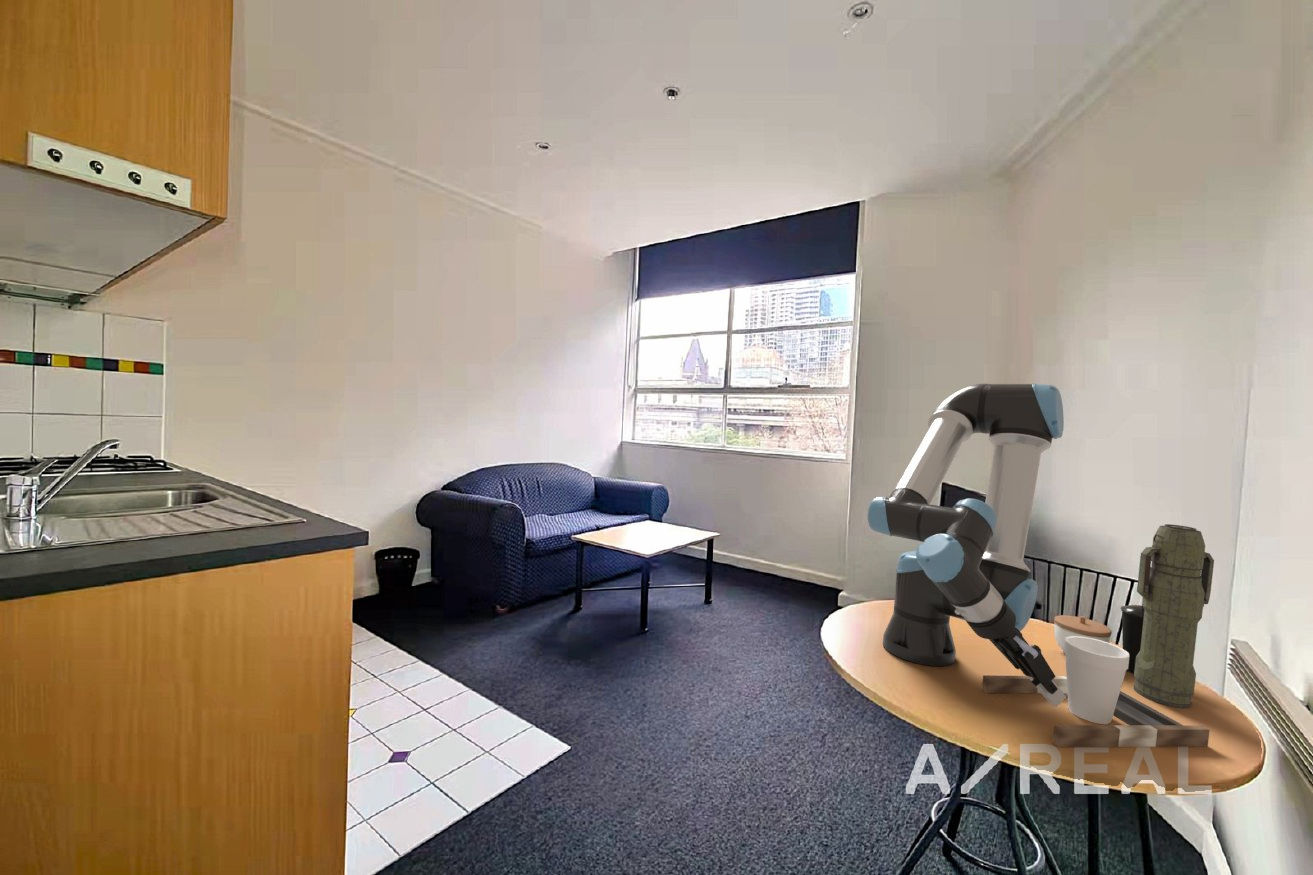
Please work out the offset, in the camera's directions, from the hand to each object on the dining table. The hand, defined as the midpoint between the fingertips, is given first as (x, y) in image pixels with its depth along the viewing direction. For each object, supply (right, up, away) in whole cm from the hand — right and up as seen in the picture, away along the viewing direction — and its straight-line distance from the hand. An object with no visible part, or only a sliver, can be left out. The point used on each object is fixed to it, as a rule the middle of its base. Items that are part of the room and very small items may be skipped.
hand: (1057, 700), depth 100 cm
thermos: (+29, -5, +11) cm, 31 cm away
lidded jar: (+26, -4, +29) cm, 39 cm away
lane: (+6, -3, +1) cm, 7 cm away
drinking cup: (+34, -4, +22) cm, 40 cm away
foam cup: (+7, -4, +2) cm, 8 cm away
